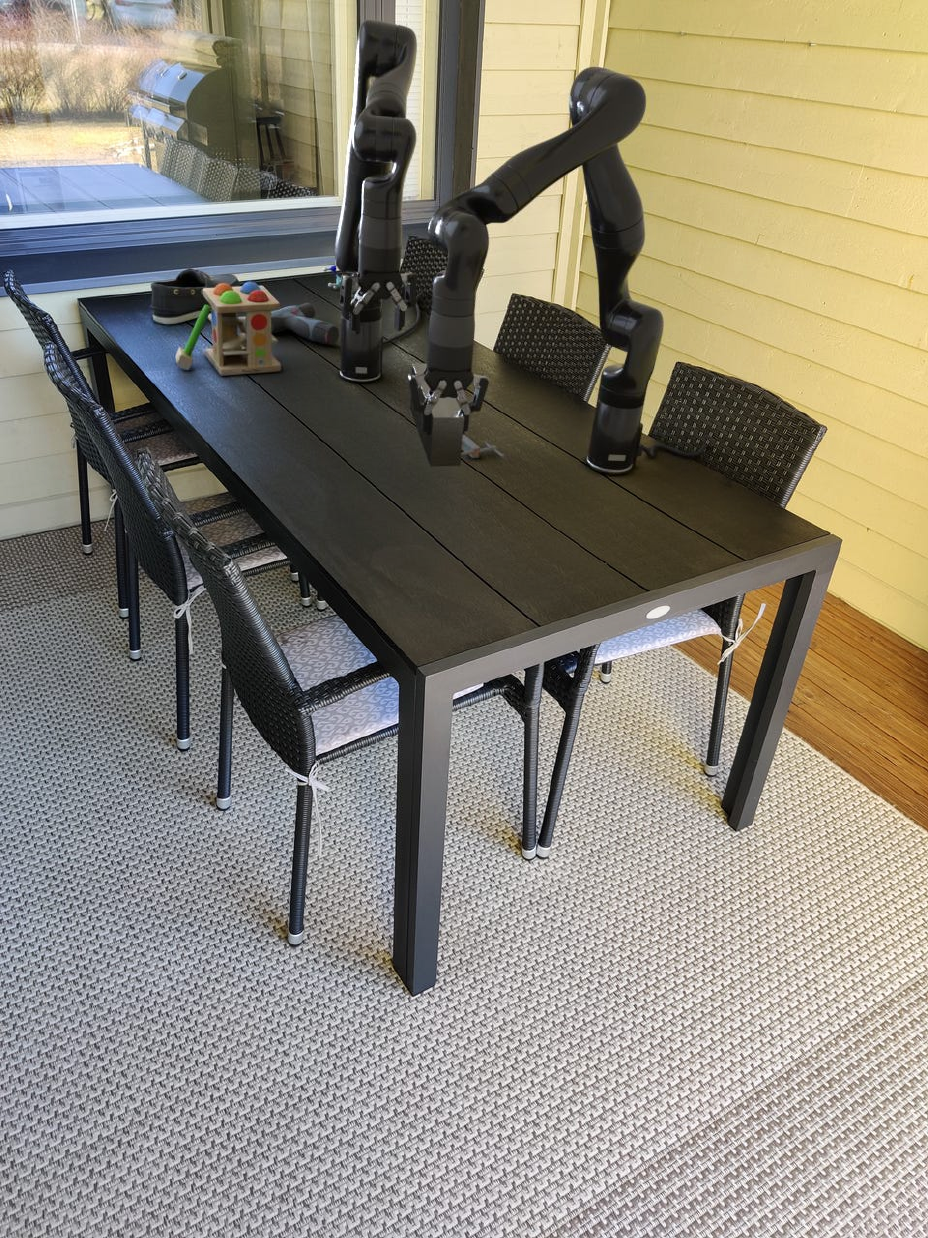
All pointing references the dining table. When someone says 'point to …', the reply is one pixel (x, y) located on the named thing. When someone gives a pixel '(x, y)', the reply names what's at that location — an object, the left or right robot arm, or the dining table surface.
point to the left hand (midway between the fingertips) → (377, 330)
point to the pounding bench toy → (229, 347)
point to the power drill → (304, 324)
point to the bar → (440, 427)
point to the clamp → (477, 448)
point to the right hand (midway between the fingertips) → (444, 432)
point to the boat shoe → (184, 295)
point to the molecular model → (338, 283)
